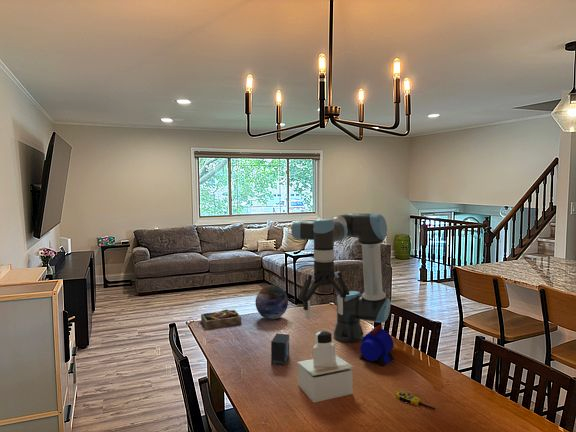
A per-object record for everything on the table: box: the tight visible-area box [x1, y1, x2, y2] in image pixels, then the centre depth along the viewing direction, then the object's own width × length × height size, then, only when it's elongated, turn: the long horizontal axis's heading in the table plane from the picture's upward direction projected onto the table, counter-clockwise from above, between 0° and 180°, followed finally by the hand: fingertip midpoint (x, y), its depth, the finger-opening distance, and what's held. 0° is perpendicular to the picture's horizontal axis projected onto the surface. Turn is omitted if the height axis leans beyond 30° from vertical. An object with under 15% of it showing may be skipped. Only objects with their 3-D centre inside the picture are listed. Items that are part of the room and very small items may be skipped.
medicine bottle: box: [312, 330, 337, 368], centre depth 160 cm, size 7×7×12 cm
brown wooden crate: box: [205, 309, 238, 321], centre depth 242 cm, size 11×16×5 cm
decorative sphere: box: [255, 284, 289, 321], centre depth 247 cm, size 19×20×20 cm
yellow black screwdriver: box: [395, 391, 436, 410], centre depth 151 cm, size 5×2×15 cm
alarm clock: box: [359, 324, 395, 367], centre depth 187 cm, size 12×12×15 cm
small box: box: [270, 333, 290, 366], centre depth 188 cm, size 11×6×10 cm, turn 168°
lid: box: [297, 355, 354, 376], centre depth 160 cm, size 17×14×1 cm
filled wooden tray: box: [200, 309, 242, 329], centre depth 242 cm, size 20×15×4 cm
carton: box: [297, 363, 353, 403], centre depth 161 cm, size 16×14×9 cm
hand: (324, 316), depth 159 cm, fingers open, 13 cm apart
